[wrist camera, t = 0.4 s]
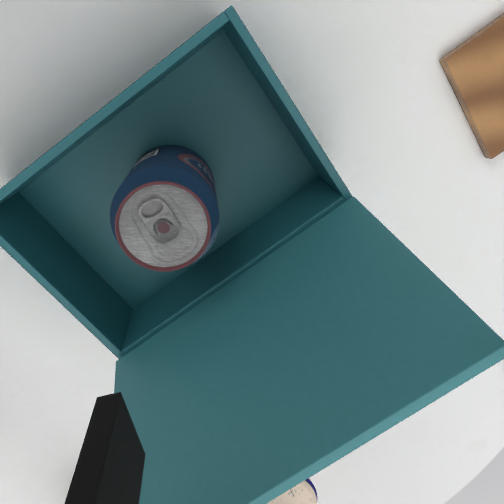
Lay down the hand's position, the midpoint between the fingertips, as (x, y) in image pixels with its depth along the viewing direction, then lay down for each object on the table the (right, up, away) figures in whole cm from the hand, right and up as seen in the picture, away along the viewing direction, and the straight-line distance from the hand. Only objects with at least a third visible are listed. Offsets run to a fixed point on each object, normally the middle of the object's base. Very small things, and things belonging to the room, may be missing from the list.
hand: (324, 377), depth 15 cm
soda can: (-9, +10, +23) cm, 27 cm away
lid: (-2, -2, +12) cm, 13 cm away
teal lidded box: (-9, +10, +24) cm, 27 cm away
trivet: (+20, +19, +24) cm, 37 cm away
